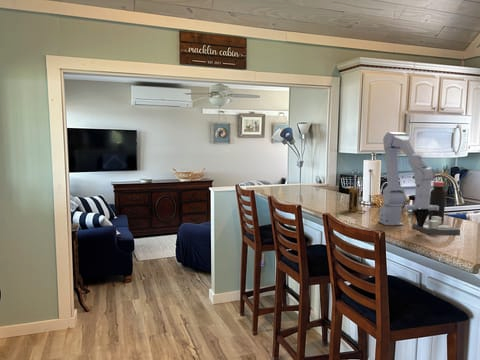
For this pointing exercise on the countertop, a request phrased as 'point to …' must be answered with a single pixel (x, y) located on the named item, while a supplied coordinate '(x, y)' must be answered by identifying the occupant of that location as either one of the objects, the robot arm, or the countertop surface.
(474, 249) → the countertop surface
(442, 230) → the switch panel
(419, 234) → the countertop surface
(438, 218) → the tab back
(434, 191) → the bottle
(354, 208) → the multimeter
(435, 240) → the countertop surface
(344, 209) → the countertop surface
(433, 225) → the tab front
